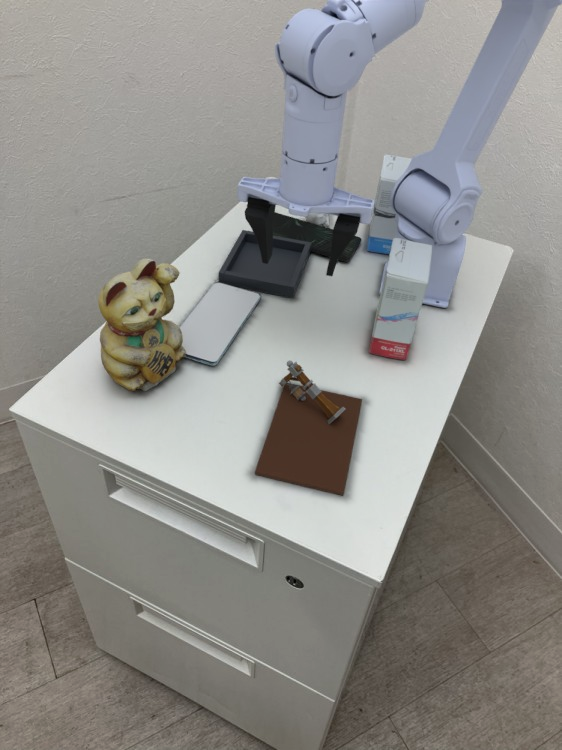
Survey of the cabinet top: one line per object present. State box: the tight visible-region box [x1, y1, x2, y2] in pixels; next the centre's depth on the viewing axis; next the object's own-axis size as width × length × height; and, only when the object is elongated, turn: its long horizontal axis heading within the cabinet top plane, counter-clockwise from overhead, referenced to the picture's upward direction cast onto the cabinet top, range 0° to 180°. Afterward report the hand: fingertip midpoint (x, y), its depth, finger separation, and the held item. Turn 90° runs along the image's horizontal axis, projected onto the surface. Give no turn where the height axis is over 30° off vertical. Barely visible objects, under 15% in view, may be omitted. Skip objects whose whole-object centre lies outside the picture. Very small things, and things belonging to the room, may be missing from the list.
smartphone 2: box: [273, 211, 362, 263], centre depth 88 cm, size 7×1×15 cm
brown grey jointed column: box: [278, 360, 346, 424], centre depth 63 cm, size 2×8×4 cm, turn 51°
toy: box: [304, 213, 330, 227], centre depth 92 cm, size 6×8×4 cm
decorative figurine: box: [97, 258, 186, 392], centre depth 62 cm, size 10×8×15 cm
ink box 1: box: [366, 154, 412, 255], centre depth 86 cm, size 8×5×12 cm, turn 168°
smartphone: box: [179, 281, 262, 366], centre depth 73 cm, size 7×1×15 cm
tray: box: [218, 229, 311, 299], centre depth 82 cm, size 11×12×2 cm
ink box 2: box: [368, 238, 432, 361], centre depth 70 cm, size 9×5×12 cm, turn 166°
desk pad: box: [254, 382, 363, 496], centre depth 61 cm, size 9×13×1 cm
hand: (298, 265), depth 67 cm, fingers open, 7 cm apart
